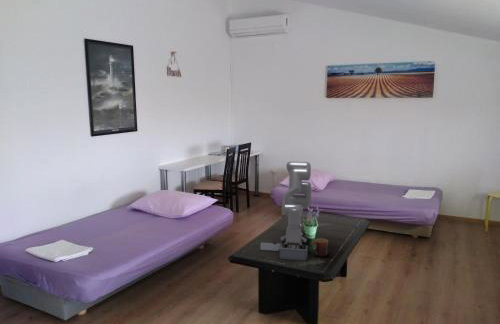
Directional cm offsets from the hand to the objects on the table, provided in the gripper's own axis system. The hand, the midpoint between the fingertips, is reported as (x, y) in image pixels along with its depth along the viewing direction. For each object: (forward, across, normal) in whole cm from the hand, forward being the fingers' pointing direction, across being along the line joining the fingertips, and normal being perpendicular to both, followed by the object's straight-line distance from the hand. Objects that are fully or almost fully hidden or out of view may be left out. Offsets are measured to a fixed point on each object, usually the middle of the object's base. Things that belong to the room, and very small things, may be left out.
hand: (293, 250), depth 266 cm
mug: (+4, -17, -4) cm, 18 cm away
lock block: (+4, 0, 0) cm, 4 cm away
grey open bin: (+4, 0, +1) cm, 4 cm away
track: (+4, +17, -6) cm, 18 cm away
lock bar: (+4, +16, -6) cm, 18 cm away
